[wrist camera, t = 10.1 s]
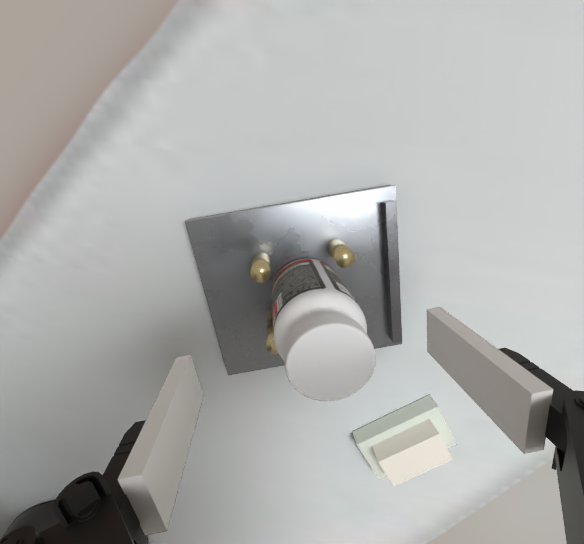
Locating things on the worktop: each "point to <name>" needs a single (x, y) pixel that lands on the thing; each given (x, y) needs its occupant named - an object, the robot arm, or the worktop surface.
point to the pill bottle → (320, 332)
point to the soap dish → (400, 425)
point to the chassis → (290, 247)
